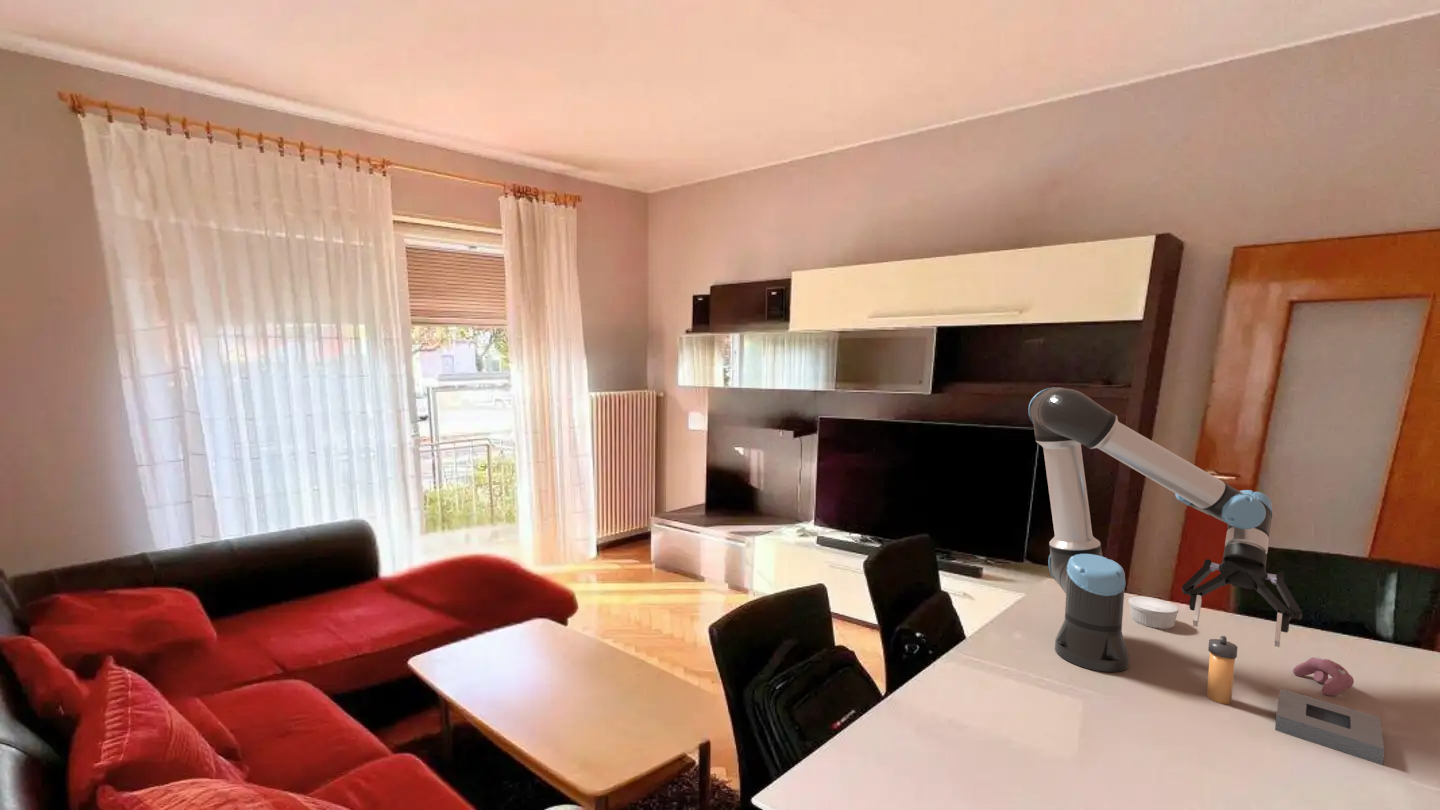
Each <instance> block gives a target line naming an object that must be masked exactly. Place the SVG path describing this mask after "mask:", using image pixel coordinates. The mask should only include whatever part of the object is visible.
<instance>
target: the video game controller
mask: <svg viewBox="0 0 1440 810" xmlns="http://www.w3.org/2000/svg"><path fill="white" fill-rule="evenodd" d="M1292 673H1293V675H1295V676H1296V677H1304V676H1305V677H1306V676H1309V675H1312V674H1313V680H1314V681H1316V682H1317V683H1319V684H1321V683H1322V684H1324V685H1323V686H1322V687H1321V694H1322V695H1325V696H1337V695H1339V694H1341V693H1342V692H1344V691H1345V690H1348V689H1350V688H1351V687H1352V686H1353V685H1354V682H1355V680H1354V678H1353V676H1352V675H1351V674H1350V673H1349V672H1348V670H1347V669H1345V667H1343V665H1341V664H1339V663H1337V662H1335V661H1333V660H1331V659H1327V658H1324V657H1320V656H1319V655H1316V656H1315V657H1311V658H1309V659H1307V660H1306V661H1304V662H1301V663H1299V664H1298V665H1296V666H1295V667H1294V668H1293V670H1292ZM1329 676H1330V677H1331V678H1329Z"/></svg>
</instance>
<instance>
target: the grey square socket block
mask: <svg viewBox="0 0 1440 810" xmlns="http://www.w3.org/2000/svg"><path fill="white" fill-rule="evenodd" d="M1276 708H1277V709H1276V714H1275V727H1274V730H1275V731H1276V732H1277V731H1278V732H1281V733H1284V734H1287V735H1290V736H1293V737H1296V738H1300V739H1302V740H1305V741H1308V742H1311V743H1314V744H1318V745H1321V746H1324V747H1327V748H1329V749H1333V750H1336V751H1339V752H1341V753H1345V754H1347V755H1351V756H1354V757H1357V758H1361V759H1363V760H1367V761H1368V762H1369V761H1370V762H1372V763H1375V762H1376V764H1379V765H1382V766H1383V764H1384V757H1385V756H1384V754H1385V745H1384V744H1385V743H1384V738H1383V732H1382V731H1383V729H1382V724H1381V717H1380V716H1376V715H1374V714H1370V713H1366V712H1363V711H1360V710H1357V709H1353V708H1349V707H1346V706H1342V705H1339V704H1335V703H1332V702H1329V701H1324V700H1321V699H1319V698H1314V697H1311V696H1308V695H1305V694H1300V693H1297V692H1295V691H1291V690H1287V689H1284V688H1280V689H1279V695H1278V701H1277V707H1276Z"/></svg>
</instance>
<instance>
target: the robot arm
mask: <svg viewBox="0 0 1440 810" xmlns="http://www.w3.org/2000/svg"><path fill="white" fill-rule="evenodd" d="M1027 409H1028V416H1029V420H1030V421H1031V423H1032V424H1033V429H1034V438H1035V442H1036V443H1037V444H1038V445H1039V446H1041V447H1042V449H1043V450H1042V451H1043V455H1044V462H1045V463H1044V465H1045V471H1046V472H1045V473H1046V480H1047V486H1048V488H1047V489H1048V495H1049V502H1050V510H1051V511H1050V512H1051V517H1052V524H1053V525H1052V526H1053V531H1054V536H1053V537H1052V538H1051V540H1050V541H1049V542H1048V543H1049V544H1048V545H1049V553H1050V554H1049V555H1048V560H1047V561H1048V562H1047V563H1048V569H1049V573H1050V575H1051V578H1053V580H1054V581H1055V583H1057V585H1059V587H1060V588H1061V589H1062V590H1063V592H1064V593H1065V604H1064V605H1065V607H1064V611H1065V612H1064V619H1063V622H1062V625H1061V626H1060V628H1059V631H1058V633H1057V634H1056V637H1055V641H1054V651H1055V652H1056V654H1057V655H1058V656H1059V657H1061V658H1062V659H1064V660H1066V661H1067V662H1069V663H1071V664H1073V665H1076V666H1079V667H1082V668H1084V669H1088V670H1093V671H1098V672H1104V673H1117V672H1118V673H1119V672H1122V671H1126V670H1127V669H1128V668H1129V665H1130V664H1129V663H1130V656H1129V652H1128V648H1127V645H1126V642H1125V638H1124V635H1123V617H1124V616H1123V615H1124V601H1125V588H1126V586H1127V585H1126V574H1125V573H1126V572H1125V571H1124V570H1125V569H1124V568H1123V567H1122V565H1120V564H1119V563H1118V562H1116V561H1114V560H1113V559H1109V558H1107V557H1106V556H1105V557H1104V556H1103V552H1102V544H1101V541H1100V540H1099V539H1097V538H1096V537H1094V535H1093V531H1092V530H1093V529H1092V523H1091V521H1092V520H1091V513H1090V505H1089V498H1088V489H1087V483H1086V476H1085V467H1084V460H1083V452H1082V446H1084V447H1086V448H1088V449H1090V450H1093V449H1098V450H1100V451H1102V452H1104V453H1106V455H1109V456H1110V457H1112V458H1114V459H1116V461H1119V462H1121V463H1122V464H1124V465H1125V466H1127V467H1129V468H1130V469H1132V470H1135V471H1136V472H1138V474H1139V473H1140V474H1141V475H1143V476H1145V477H1146V478H1148V479H1149V480H1151V481H1153V482H1155V483H1157V484H1158V485H1160V486H1162V488H1163V487H1164V488H1166V489H1167V490H1169V491H1171V492H1172V493H1173V494H1174V496H1175V498H1176V500H1177V501H1179V502H1180V503H1183V504H1184V505H1186V506H1189V507H1191V508H1193V509H1195V510H1197V511H1199V512H1202V513H1204V514H1206V515H1208V516H1210V517H1213V518H1215V519H1217V520H1219V521H1221V522H1223V523H1225V524H1227V530H1226V535H1225V536H1226V537H1225V542H1224V551H1223V556H1222V560H1221V563H1220V564H1219V563H1215V562H1213V561H1212V560H1211V559H1208V558H1207V559H1205V560H1204V562H1203V565H1202V567H1200V568H1199V569H1198V570H1197V571H1196V572H1195V573H1194V574H1193V575H1192V576H1191V577H1190V578H1189V579H1188V580H1187V581H1185V582H1184V584H1182V586H1181V590H1182V593H1183V594H1184V595H1186V596H1189V597H1190V598H1189V603H1188V607H1189V610H1191V611H1193V617H1192V623H1193V626H1194V627H1197V628H1198V627H1199V622H1200V621H1199V620H1200V616H1201V615H1200V613H1201V609H1202V601H1203V600H1202V597H1204V596H1205V595H1208V594H1210V593H1212V592H1213V591H1215V590H1217V589H1218V588H1221V587H1224V586H1227V585H1229V584H1230V585H1231V586H1232V587H1236V588H1244V589H1246V590H1251V589H1254V590H1255V591H1256V592H1257V593H1258V594H1259V595H1261V596H1262V598H1263V599H1265V601H1266V602H1267V603H1268V604H1269V606H1271V608H1273V609H1274V611H1276V613H1277V614H1276V625H1275V626H1276V627H1275V634H1274V647H1278V648H1280V647H1281V645H1280V644H1281V635H1282V632H1283V633H1286V634H1288V632H1289V630H1290V620H1292V619H1293V620H1297V621H1300V620H1301V619H1302V617H1303V611H1302V609H1301V608H1300V606H1299V605H1298V603H1297V601H1296V600H1295V598H1294V596H1293V595H1292V593H1291V591H1290V589H1289V588H1288V586H1287V585H1286V583H1285V578H1284V577H1285V575H1284V574H1283V573H1282V572H1277V573H1276V574H1274V573H1273V574H1272V573H1268V572H1267V571H1266V570H1267V569H1266V568H1267V559H1268V556H1267V554H1268V551H1269V540H1270V531H1271V525H1272V518H1273V503H1272V500H1271V498H1270V497H1268V496H1267V495H1266V494H1264V493H1262V492H1260V491H1253V490H1251V489H1243V490H1239V489H1236V488H1235V487H1234V486H1231V485H1230V484H1228V483H1226V482H1224V481H1223V480H1221V479H1220V478H1218V477H1216V476H1214V475H1212V474H1210V473H1208V472H1207V471H1206V470H1204V469H1202V468H1200V467H1198V466H1196V465H1194V464H1193V463H1192V462H1190V461H1188V460H1186V459H1184V458H1183V457H1181V456H1179V455H1177V454H1175V453H1174V452H1172V451H1170V450H1169V449H1168V448H1165V447H1163V446H1162V445H1160V444H1158V443H1156V442H1155V441H1153V440H1151V439H1149V438H1147V437H1146V436H1144V435H1142V434H1140V433H1139V432H1137V431H1136V430H1134V429H1132V428H1130V427H1128V426H1126V425H1125V424H1123V423H1121V422H1120V421H1119V420H1118V419H1119V418H1118V416H1117V414H1115V413H1113V412H1111V411H1110V410H1108V409H1106V408H1105V407H1103V406H1102V405H1100V404H1099V403H1097V402H1096V401H1094V400H1093V399H1092V398H1090V397H1089V396H1087V395H1085V393H1082V392H1081V391H1078V390H1076V389H1072V388H1066V387H1065V388H1064V387H1062V386H1061V387H1060V386H1057V387H1056V386H1055V387H1053V386H1052V387H1047V388H1045V389H1042V390H1040V391H1039V392H1037V393H1036V394H1035V395H1034V396H1033V397H1032V398H1031V400H1030V401H1029V404H1028V408H1027ZM1215 571H1218V572H1219V574H1218V575H1217V576H1215V577H1214V578H1212V579H1210V580H1208V581H1205V582H1204V583H1202V582H1203V581H1204V580H1205V579H1206V578H1207V577H1208V576H1209V575H1210V574H1211V573H1214V572H1215ZM1267 580H1268V581H1270V582H1271V584H1272V585H1274V586H1276V588H1277V591H1278V593H1279V594H1280V596H1281V598H1282V599H1283V602H1284V603H1285V605H1284V603H1283V602H1281V600H1280V599H1279V598H1278V597H1277V596H1276V595H1275V594H1274V593H1273V592H1272V591H1271V590H1270V589H1269V588H1268V587H1267V586H1266V584H1265V582H1266V581H1267ZM1201 583H1202V584H1201ZM1198 585H1199V586H1198Z"/></svg>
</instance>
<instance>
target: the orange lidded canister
mask: <svg viewBox="0 0 1440 810" xmlns="http://www.w3.org/2000/svg"><path fill="white" fill-rule="evenodd" d="M1207 647H1208V648H1207V651H1208V652H1209V661H1208V673H1207V674H1208V675H1207V687H1206V688H1207V689H1206V698H1208V699H1209V700H1210V701H1212V702H1215V703H1216V704H1222V705H1231V704H1232V697H1233V687H1234V686H1233V685H1234V671H1235V661H1236V659H1237V657H1238V645H1236V644H1235V643H1233V642H1230V641H1227V637H1226V636H1225V635H1221V636H1220V639H1218V638H1210V639H1209V640H1208V646H1207Z"/></svg>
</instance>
